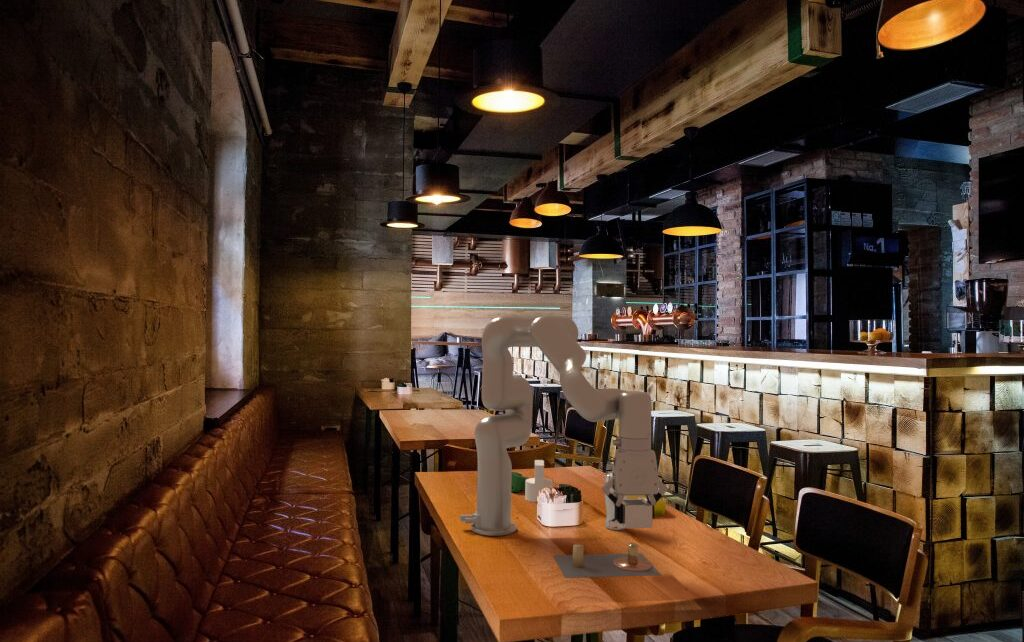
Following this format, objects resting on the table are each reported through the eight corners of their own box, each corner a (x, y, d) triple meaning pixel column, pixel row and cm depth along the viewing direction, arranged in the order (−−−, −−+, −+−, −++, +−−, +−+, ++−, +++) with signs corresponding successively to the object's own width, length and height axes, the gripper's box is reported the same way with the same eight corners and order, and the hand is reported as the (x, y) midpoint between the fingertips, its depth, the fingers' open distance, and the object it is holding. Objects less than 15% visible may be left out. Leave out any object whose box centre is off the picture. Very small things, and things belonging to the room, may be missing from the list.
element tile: (648, 504, 211) (648, 489, 211) (667, 517, 196) (667, 501, 196) (604, 505, 208) (605, 490, 208) (620, 518, 193) (620, 502, 193)
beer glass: (627, 531, 179) (628, 477, 179) (602, 529, 180) (603, 476, 181) (628, 524, 186) (629, 472, 186) (604, 522, 187) (605, 471, 187)
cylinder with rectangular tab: (525, 495, 217) (525, 459, 218) (551, 495, 217) (552, 460, 217) (525, 502, 208) (525, 465, 209) (552, 502, 208) (553, 465, 208)
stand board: (564, 584, 141) (565, 556, 141) (553, 561, 154) (553, 536, 155) (661, 581, 143) (662, 554, 143) (641, 559, 157) (641, 534, 157)
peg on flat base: (619, 571, 145) (619, 551, 145) (608, 557, 154) (608, 538, 154) (657, 570, 146) (658, 550, 146) (645, 556, 155) (645, 538, 155)
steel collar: (625, 528, 146) (625, 506, 146) (617, 520, 152) (617, 499, 153) (652, 527, 147) (652, 505, 147) (643, 519, 153) (643, 498, 153)
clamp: (523, 504, 223) (534, 482, 220) (508, 501, 220) (518, 479, 218) (513, 483, 233) (522, 462, 231) (498, 480, 231) (508, 459, 228)
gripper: (602, 447, 145) (602, 527, 145) (676, 446, 147) (676, 525, 147) (594, 442, 153) (594, 518, 152) (664, 441, 155) (664, 516, 154)
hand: (634, 521), depth 150 cm, fingers closed on steel collar, 6 cm apart
